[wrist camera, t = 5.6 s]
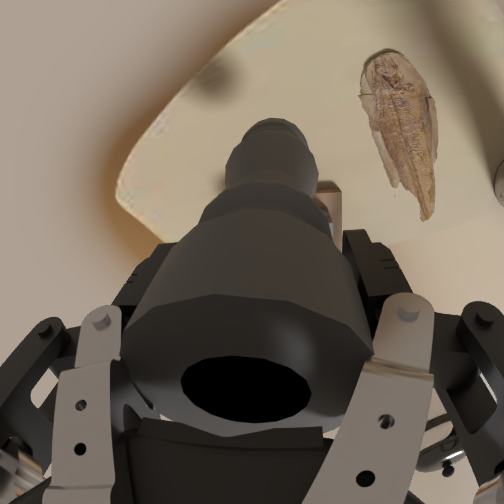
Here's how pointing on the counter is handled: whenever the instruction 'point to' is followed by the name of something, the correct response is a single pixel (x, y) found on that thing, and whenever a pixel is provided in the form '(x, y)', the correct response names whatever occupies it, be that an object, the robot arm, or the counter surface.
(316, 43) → the counter surface
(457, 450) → the coffee press
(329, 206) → the collar socket
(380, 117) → the fish fossil
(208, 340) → the candle holder
